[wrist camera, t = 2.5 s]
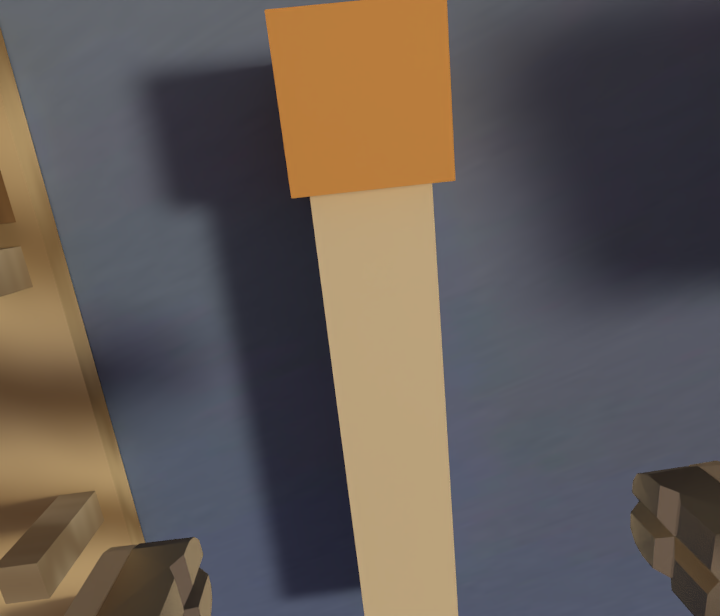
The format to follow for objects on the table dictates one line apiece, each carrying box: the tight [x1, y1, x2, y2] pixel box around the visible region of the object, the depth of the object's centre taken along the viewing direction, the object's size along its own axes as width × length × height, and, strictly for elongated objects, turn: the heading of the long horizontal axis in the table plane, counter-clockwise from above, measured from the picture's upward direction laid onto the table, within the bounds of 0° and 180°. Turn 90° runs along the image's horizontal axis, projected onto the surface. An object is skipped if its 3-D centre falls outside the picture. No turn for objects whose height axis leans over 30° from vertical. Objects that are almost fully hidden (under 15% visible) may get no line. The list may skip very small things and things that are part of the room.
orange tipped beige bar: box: [265, 0, 458, 616], centre depth 18 cm, size 25×5×5 cm, turn 6°
